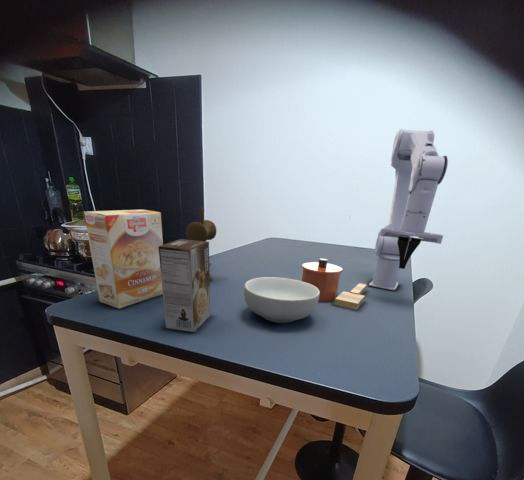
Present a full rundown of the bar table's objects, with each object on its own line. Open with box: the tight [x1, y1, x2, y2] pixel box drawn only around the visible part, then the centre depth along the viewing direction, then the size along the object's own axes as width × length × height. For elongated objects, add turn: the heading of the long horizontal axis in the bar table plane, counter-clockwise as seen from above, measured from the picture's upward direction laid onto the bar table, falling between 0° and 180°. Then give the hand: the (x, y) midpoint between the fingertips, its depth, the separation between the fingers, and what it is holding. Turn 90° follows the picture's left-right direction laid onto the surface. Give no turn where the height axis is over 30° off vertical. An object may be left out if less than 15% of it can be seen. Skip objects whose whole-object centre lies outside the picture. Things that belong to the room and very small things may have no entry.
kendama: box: [185, 206, 217, 281], centre depth 90 cm, size 6×10×20 cm, turn 169°
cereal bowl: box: [243, 276, 320, 324], centre depth 71 cm, size 17×17×7 cm
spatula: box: [333, 282, 368, 311], centre depth 88 cm, size 19×6×2 cm, turn 152°
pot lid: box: [301, 258, 343, 274], centre depth 85 cm, size 11×11×3 cm
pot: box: [301, 268, 342, 302], centre depth 87 cm, size 10×10×8 cm
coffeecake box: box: [83, 209, 164, 310], centre depth 73 cm, size 15×7×20 cm, turn 151°
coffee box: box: [159, 238, 211, 333], centre depth 63 cm, size 9×6×16 cm
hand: (401, 267), depth 84 cm, fingers closed
